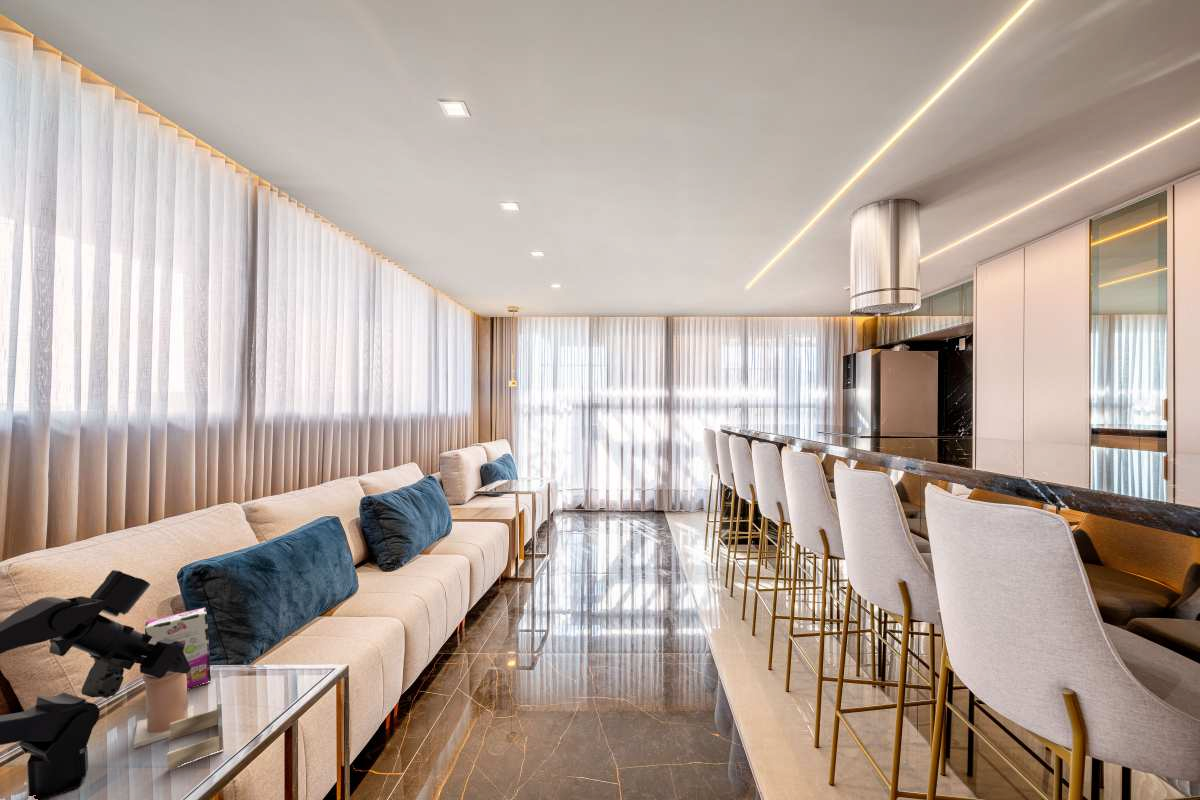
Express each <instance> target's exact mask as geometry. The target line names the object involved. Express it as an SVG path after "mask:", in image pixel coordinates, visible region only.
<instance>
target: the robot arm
mask: <svg viewBox="0 0 1200 800" xmlns="http://www.w3.org/2000/svg"><path fill="white" fill-rule="evenodd" d="M150 586H151V583H150V582H148V581H147V580H146V579H142V578H140V577H137V576H136V577H135V576H133V575H130V574H128V573H124V572H123V571H121V570H116V569H113V570H111V571H110V572H109V574H108V575H107V576H106V577H105V580H103V582H102V583H101V584H100V586H99V587H98V588H97V589H96V590H95V591H94V592H93V593H92V595H91V596H90V597H89V596H88V597H87V596H82V595H80V596H76V597H69V598H60V597H55V596H48V597H47V596H46V597H43V598H39V599H38V600H35V601H33V602H32V603H30V604H27V605H26V606H24V607H22V608H20V609H18V610H16V611H15V612H13V613H12V614H11V615H9V616H8V617H6V618H5V619H4V620H3V621H1V622H0V655H2V654H4V653H6V652H9V651H10V650H14V649H15V650H16V649H17V648H21V647H22V648H23V647H25V646H32V645H35V644H36V645H37V644H40V643H44V642H47V641H49V644H50V646H49V653H50V654H52V655H56V656H59V657H64V656H66V654H67V653H68V652H69V651H70V649H71V648H74V649H77V650H80V651H82V652H85V653H88V655H89V657H90V658H91V659H93V660H94V662H93V665H92V667H91V668H90V669H89V672H88V674H87V676H86V678H85V681H84V683H83V685H82V687H81V694H82V695H83V696H86V697H90V698H93V699H94V698H105V699H108V698H110V697H113V696H115V695H116V694H117V692H118V691H120V688H121V685H122V684H123V681H124V672H125V670H128V671H130V670H132V667H134V665H135V664H140V665H139V673H141V674H143V675H144V674H145V675H148V676H151V677H155V678H159V679H160V678H162V677H163V676H165V674H166V673H167V672H176V673H185V674H187V673H188V672H189V671H190V670H191V667H190V665H189V663H188V661H187V659H186V657H185V654H184V652H183V649H184V644H182V643H180V642H178V641H175V640H170V639H166V638H165V639H163V640H160V641H158V642H157V643H156V645H154V644H149V641H150V640H151V639H152V636H150V635H147V634H145V633H143V632H140V631H137V630H135V628H134V627H132V626H130V625H126V624H122V623H119V622H117V621H115V620H112V619H110V618H108V617H106V616H103V615H102V614H101V613H104V614H107V615H109V616H112V617H115V618H117V617H119V615H120V614H122V615H124V616H125V615H126V614H129V612H130V611H131V609H132V608H133V607H134V606H135V605H136V604H137V602H138V601H140V599H141V597H142V596H143V595H144V594H145V593H146V591H147V590H148V589H149V588H150ZM99 718H100V708H99V707H98V705H97V704H95V703H92V702H89V701H87V700H86V698H83V697H79V696H77V695H73V694H71V693H66V692H62V693H61V694H58V695H54V696H38V697H37V698H36V703H35V706H33V707H30V708H28V709H26V710H23V711H19V712H15V713H8V714H1V715H0V746H2V745H8V744H14V743H18V742H19V744H18V745H19V747H20V749H21V750H22V751H23V753H24V754H29V755H30V756H29V758H28V759H27V765H26V766H27V780H28V781H27V783H28V795H29V796H33V795H36V796H34V798H35V799H38V800H46V799H49V798H51V797H55V796H57V795H60V794H62V793H67V792H69V791H73V790H75V789H77V788H79V787H81V786H82V784H83V783H82V782H83V779H84V778H85V777H87V775H88V774H87V773H88V771H89V755H88V751H89V750H88V743H89V740H90V738H91V735H92V731H93V729H94V727H95V726H96V725H97V723H98V721H99Z"/></svg>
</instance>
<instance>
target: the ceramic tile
mask: <svg viewBox="0 0 1200 800" xmlns="http://www.w3.org/2000/svg"><path fill="white" fill-rule="evenodd" d="M194 713H195V705H194V704H191V705H188V717H191V716H194V715H195V714H194ZM168 738H171V736H170V729H169V730H166V731H162V732H156V733H153V732H149V731H148V730H147V718H145V719H141V720H138V721H137V724H136V729H135V732H134V738H133V739H134V740H133V747H132V748H133V749H136V748H140V747H143V746H146V745H149V744H152V743H154V742H158V741H160V740H164V739H168Z"/></svg>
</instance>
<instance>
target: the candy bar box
mask: <svg viewBox="0 0 1200 800" xmlns="http://www.w3.org/2000/svg"><path fill="white" fill-rule="evenodd" d="M208 625H209V624H208V613H207V609H206V607H202V608H201V607H200V608H197V609H193V610H188V611H184V612H180V613H176V614H172V615H167V616H163V617H159V618H154V619H151V620H150V619H149V620H147V621H145V625H144V626H145V627H144V634H147V635H150V636H152V639H151V640H150V641H149V644H154V645H156V643H157V642H158V641H160V640H163V639H165V638H166V639H170V640H175V641H178V642H180V643H182V644H184V649H183V652H184V654H185V657H186V659H187V661H188V663H189V665H190V667H191V670H190V671H189V672H188V673H187V674H186V676H187V690H189V689H188V688H191V689H193V688H192V687H194V686H197V685H200V684H202V683H206V682H208V681H212V680H211V679H212V677H211V657H210V644H209V643H210V641H209V628H208V627H209V626H208ZM200 686H201V685H200ZM197 687H198V686H197ZM194 688H195V687H194Z"/></svg>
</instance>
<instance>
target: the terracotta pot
mask: <svg viewBox="0 0 1200 800" xmlns="http://www.w3.org/2000/svg"><path fill="white" fill-rule="evenodd" d="M142 681H143V682H144V685H145V688H144V689H145V707H146V708H145V712H146V719H147V730H148V731H149V732H153V733H156V732H162V731H166V730H169V729H170V723H172V722H175V721H178V720H181V719H184V718H188V706H189V705H188V689H187V676H186V674H185V673H176V672H167V673H166V674H165V676H163V677H162V678H160V679H159V678H155V677H151V676H148V675H145V674H143V676H142Z"/></svg>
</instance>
